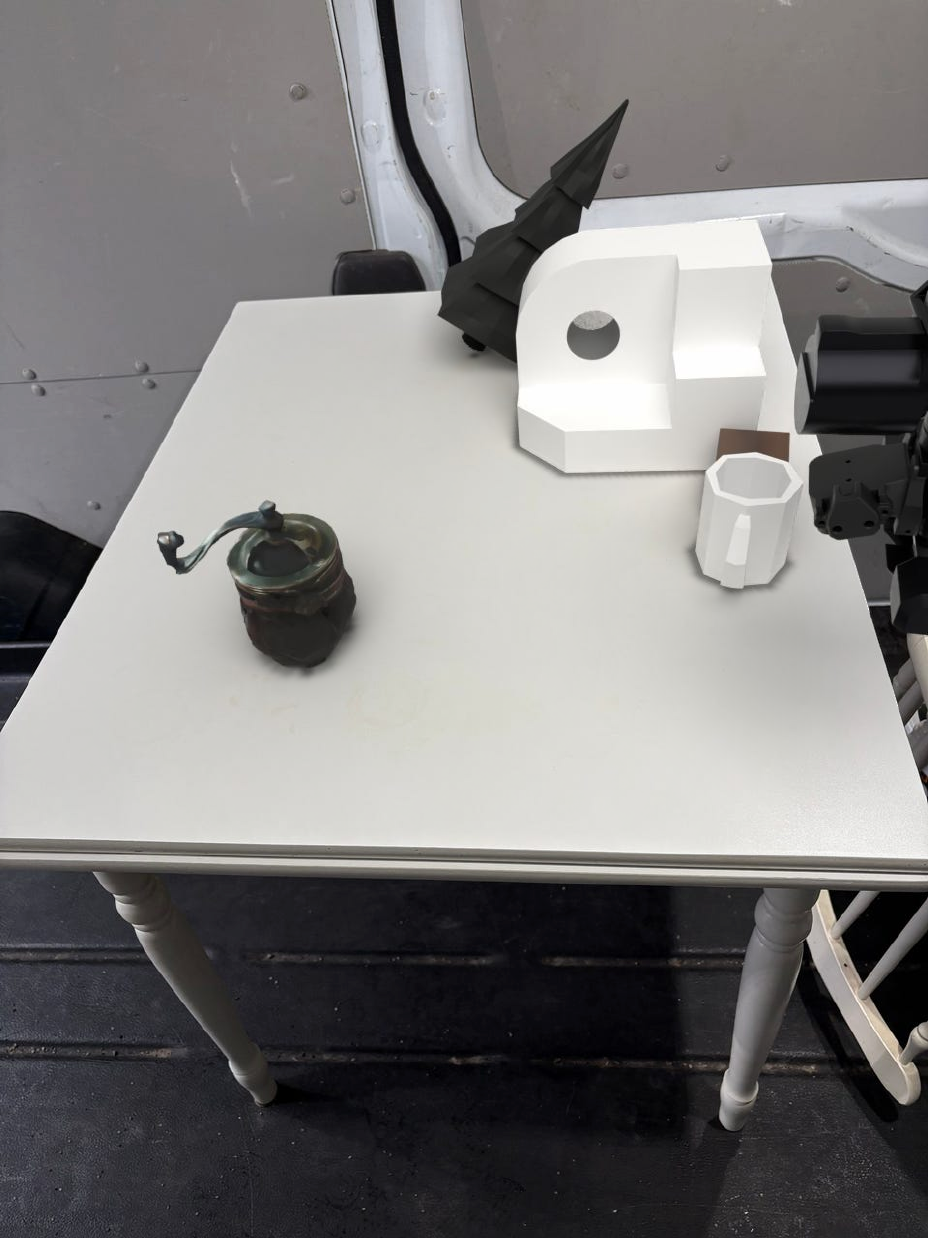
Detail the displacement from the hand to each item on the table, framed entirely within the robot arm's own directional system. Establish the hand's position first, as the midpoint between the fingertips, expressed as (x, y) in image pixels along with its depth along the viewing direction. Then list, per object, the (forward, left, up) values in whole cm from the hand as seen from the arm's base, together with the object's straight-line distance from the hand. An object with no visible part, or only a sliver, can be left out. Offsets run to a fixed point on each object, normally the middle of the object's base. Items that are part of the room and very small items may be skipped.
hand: (905, 613), depth 60 cm
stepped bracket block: (+25, -39, -12) cm, 48 cm away
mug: (+11, -16, -12) cm, 23 cm away
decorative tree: (+41, -58, -12) cm, 72 cm away
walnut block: (+11, -28, -12) cm, 32 cm away
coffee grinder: (+51, +2, -12) cm, 52 cm away
